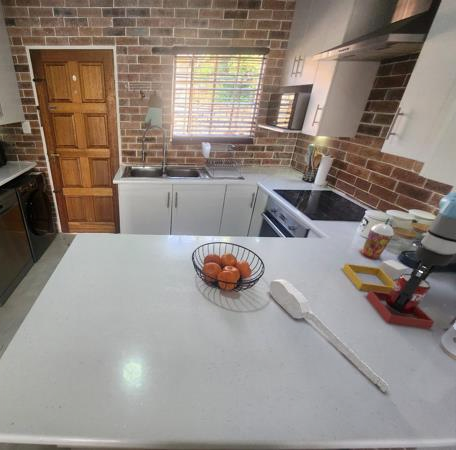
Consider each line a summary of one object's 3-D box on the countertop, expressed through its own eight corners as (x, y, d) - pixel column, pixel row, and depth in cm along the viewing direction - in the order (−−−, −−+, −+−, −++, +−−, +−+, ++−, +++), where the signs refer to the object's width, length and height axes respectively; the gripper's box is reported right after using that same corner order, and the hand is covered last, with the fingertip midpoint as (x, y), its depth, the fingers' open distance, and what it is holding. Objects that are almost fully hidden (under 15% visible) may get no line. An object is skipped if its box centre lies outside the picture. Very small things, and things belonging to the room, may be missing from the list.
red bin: (401, 303, 91) (407, 295, 89) (428, 331, 80) (434, 322, 78) (365, 298, 92) (369, 290, 91) (385, 324, 82) (391, 315, 80)
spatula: (366, 403, 62) (377, 398, 63) (384, 386, 58) (395, 381, 59) (265, 292, 92) (274, 290, 93) (272, 276, 88) (281, 274, 89)
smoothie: (355, 250, 124) (372, 213, 114) (373, 252, 123) (392, 215, 114) (365, 259, 116) (384, 221, 107) (384, 261, 115) (405, 223, 106)
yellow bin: (375, 275, 105) (379, 267, 104) (396, 296, 94) (401, 288, 92) (341, 271, 107) (345, 263, 106) (358, 291, 96) (362, 283, 94)
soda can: (379, 303, 86) (396, 275, 81) (391, 297, 89) (408, 270, 84) (405, 318, 81) (424, 289, 75) (416, 312, 83) (436, 284, 78)
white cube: (391, 281, 102) (398, 269, 99) (376, 272, 107) (382, 261, 104) (401, 279, 104) (408, 267, 101) (385, 270, 109) (392, 259, 106)
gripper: (428, 235, 82) (395, 288, 92) (410, 252, 71) (375, 310, 82) (461, 245, 76) (422, 300, 87) (447, 265, 66) (405, 325, 76)
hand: (399, 305), depth 84 cm, fingers closed on soda can, 7 cm apart
